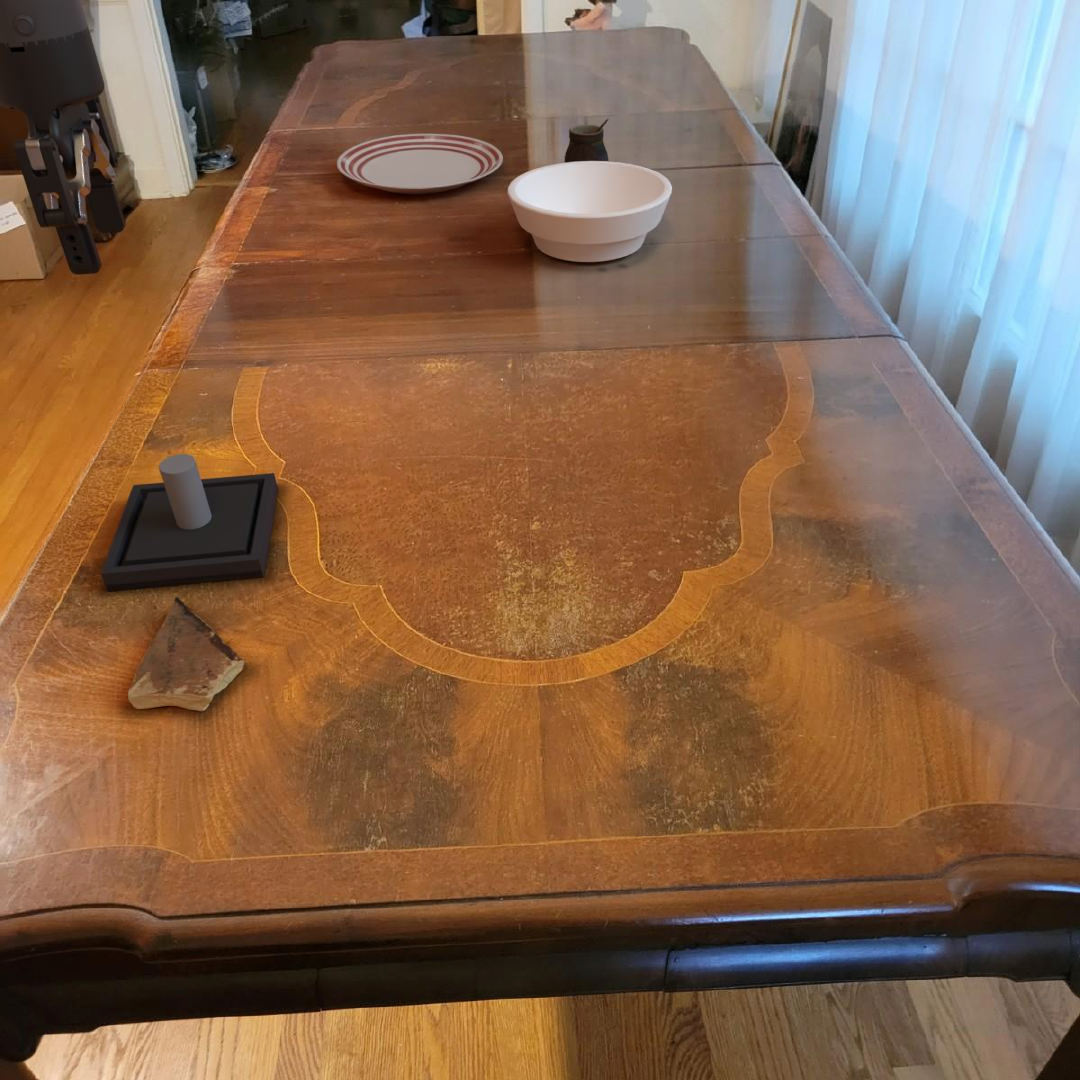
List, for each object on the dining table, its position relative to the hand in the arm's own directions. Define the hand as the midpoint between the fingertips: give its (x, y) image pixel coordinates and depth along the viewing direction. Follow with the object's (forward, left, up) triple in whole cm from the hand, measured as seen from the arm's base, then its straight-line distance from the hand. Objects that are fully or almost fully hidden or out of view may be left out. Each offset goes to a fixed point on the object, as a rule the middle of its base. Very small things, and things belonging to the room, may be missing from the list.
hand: (100, 250), depth 78 cm
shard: (+4, -24, -24) cm, 34 cm away
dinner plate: (+25, +89, -24) cm, 96 cm away
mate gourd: (+52, +82, -24) cm, 100 cm away
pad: (+3, -7, -23) cm, 25 cm away
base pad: (+3, -7, -24) cm, 25 cm away
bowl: (+48, +54, -24) cm, 76 cm away
